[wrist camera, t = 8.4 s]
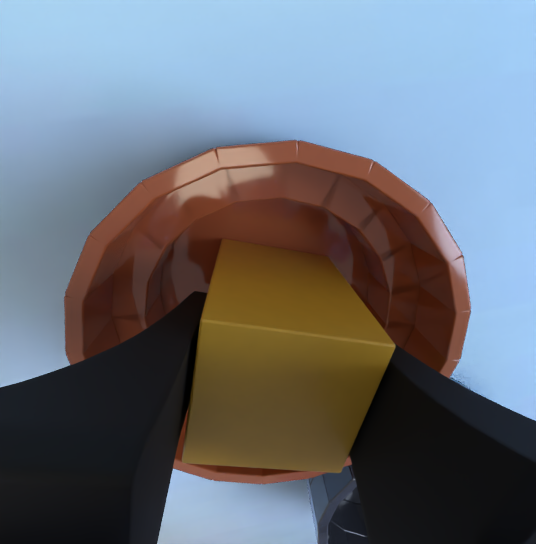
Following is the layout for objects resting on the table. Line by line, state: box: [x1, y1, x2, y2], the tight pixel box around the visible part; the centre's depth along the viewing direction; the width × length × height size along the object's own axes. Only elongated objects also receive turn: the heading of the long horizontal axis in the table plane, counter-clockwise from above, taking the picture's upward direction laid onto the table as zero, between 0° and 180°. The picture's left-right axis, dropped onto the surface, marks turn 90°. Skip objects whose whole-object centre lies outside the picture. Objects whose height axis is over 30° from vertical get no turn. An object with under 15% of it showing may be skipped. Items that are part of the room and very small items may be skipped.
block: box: [182, 239, 395, 473], centre depth 10 cm, size 4×4×6 cm
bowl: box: [64, 140, 471, 484], centre depth 11 cm, size 12×12×4 cm
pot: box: [306, 378, 470, 544], centre depth 16 cm, size 11×11×4 cm
